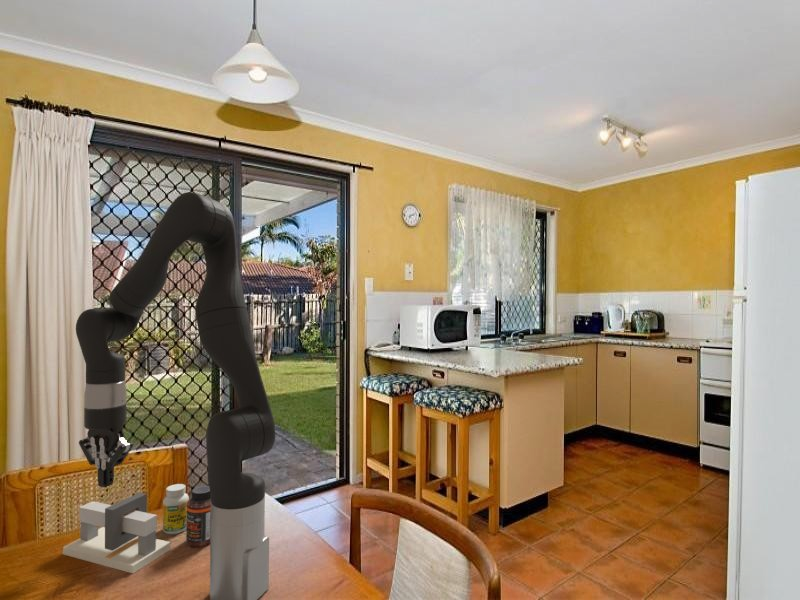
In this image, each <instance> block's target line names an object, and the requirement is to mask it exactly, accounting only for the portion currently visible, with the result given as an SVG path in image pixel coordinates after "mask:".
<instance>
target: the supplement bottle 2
mask: <svg viewBox="0 0 800 600" xmlns="http://www.w3.org/2000/svg"><path fill="white" fill-rule="evenodd" d="M210 519H211V493H210V488H209V485H201V486H199V485H198V486H196V487H194V488H193V489H191V498H189V501H188V503H187V529H186V530H185V531H186V537H185V538H186V539H185V540H186V543H187V545H188V546H190V547H203V546H206V545H209V544H210Z"/></svg>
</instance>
